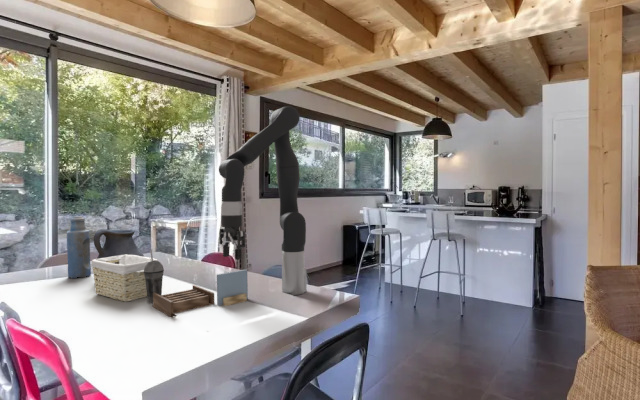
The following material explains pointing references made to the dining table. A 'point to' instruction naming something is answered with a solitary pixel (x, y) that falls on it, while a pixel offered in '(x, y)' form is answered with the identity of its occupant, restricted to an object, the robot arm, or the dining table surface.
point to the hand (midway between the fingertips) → (232, 257)
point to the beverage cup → (153, 278)
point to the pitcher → (116, 243)
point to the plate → (231, 285)
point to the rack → (183, 300)
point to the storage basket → (121, 276)
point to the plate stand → (234, 299)
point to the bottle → (78, 249)
